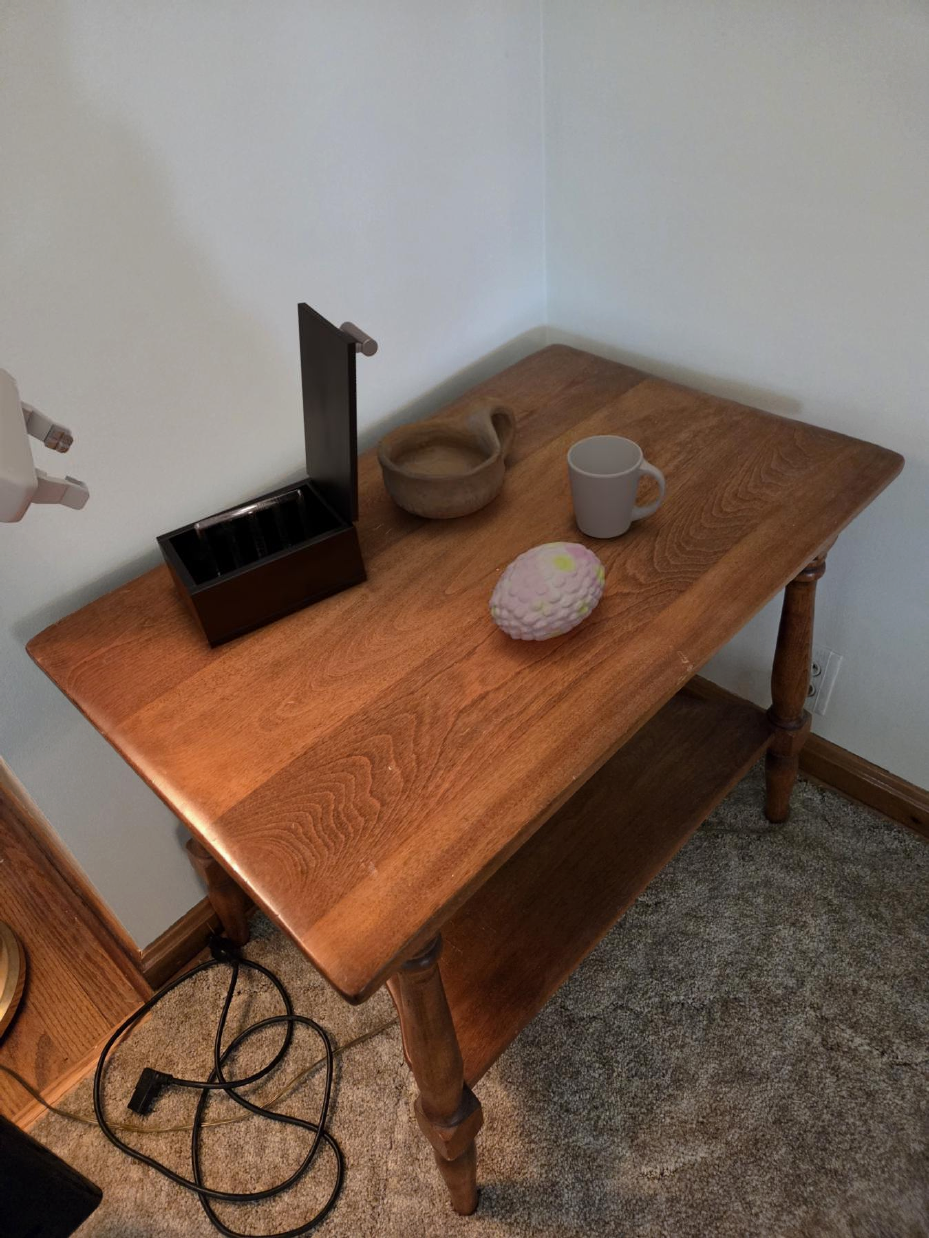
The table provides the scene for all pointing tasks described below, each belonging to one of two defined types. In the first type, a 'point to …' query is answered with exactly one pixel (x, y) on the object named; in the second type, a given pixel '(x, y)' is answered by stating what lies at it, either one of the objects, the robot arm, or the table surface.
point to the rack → (252, 528)
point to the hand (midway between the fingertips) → (77, 469)
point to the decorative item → (547, 591)
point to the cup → (609, 484)
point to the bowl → (449, 460)
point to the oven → (264, 565)
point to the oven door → (331, 404)
